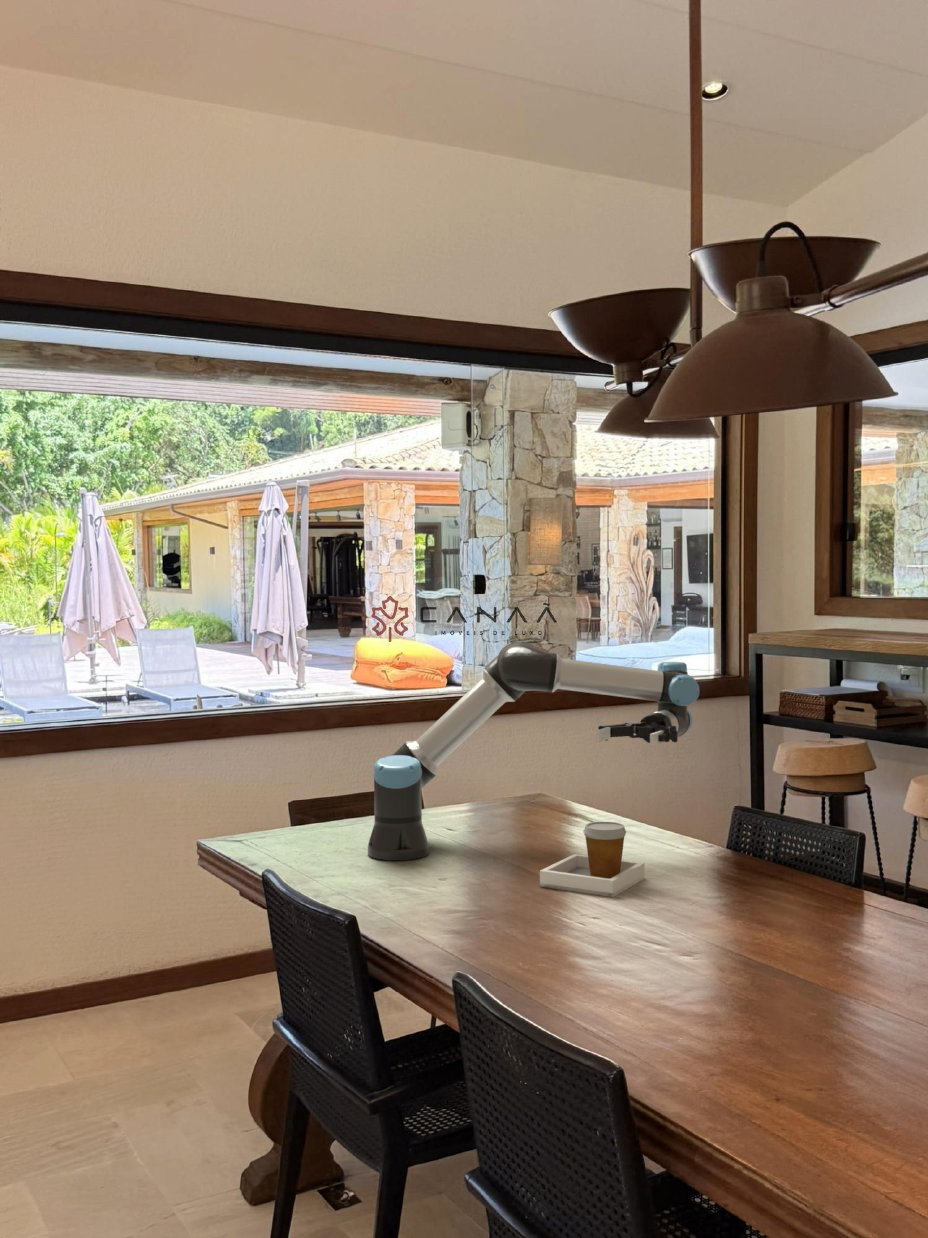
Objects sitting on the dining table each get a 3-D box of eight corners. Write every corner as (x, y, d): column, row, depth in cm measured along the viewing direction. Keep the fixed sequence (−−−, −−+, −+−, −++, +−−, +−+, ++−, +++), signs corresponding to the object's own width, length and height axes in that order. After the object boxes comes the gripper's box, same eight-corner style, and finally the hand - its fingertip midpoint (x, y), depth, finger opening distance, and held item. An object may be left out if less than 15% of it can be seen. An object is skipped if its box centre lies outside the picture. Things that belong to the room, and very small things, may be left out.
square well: (539, 886, 254) (539, 870, 254) (574, 869, 269) (574, 854, 269) (612, 897, 245) (612, 881, 245) (644, 878, 260) (644, 863, 260)
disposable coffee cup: (630, 875, 260) (630, 822, 259) (621, 886, 251) (621, 831, 250) (589, 872, 263) (588, 820, 262) (578, 883, 254) (578, 828, 253)
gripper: (706, 745, 283) (674, 757, 265) (612, 739, 296) (576, 750, 278) (706, 715, 283) (674, 725, 265) (612, 709, 296) (575, 719, 278)
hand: (624, 738), depth 271 cm, fingers open, 13 cm apart
